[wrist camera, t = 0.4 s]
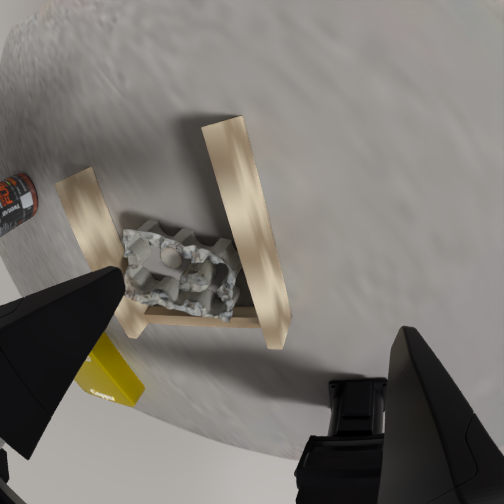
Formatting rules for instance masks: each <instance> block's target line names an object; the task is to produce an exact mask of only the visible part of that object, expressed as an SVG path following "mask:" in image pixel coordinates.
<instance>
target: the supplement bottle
mask: <svg viewBox="0 0 504 504" xmlns="http://www.w3.org/2000/svg"><path fill="white" fill-rule="evenodd" d="M37 208H38V199H37V193H36V190H35V187H34V185H33V183H32V181H31V180H30V179H29V177H27V176H26V175H25V174H22V173H19V174H16V175H14V176H12V177H10V178H7V179H4V181H2V182H0V237H2V236H3V235H5V234H6V233H8V232H9V231H11V230H12V229H14V228H15V227H17V226H18V225H20V224H22V223H23V222H25V221H26V220H28V219H30V218H31V217H33V216H34V215H35V213H36V211H37Z"/></svg>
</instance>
